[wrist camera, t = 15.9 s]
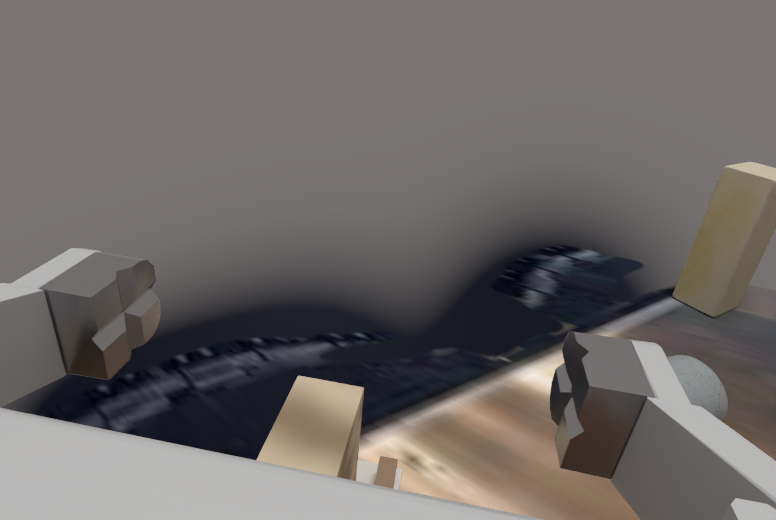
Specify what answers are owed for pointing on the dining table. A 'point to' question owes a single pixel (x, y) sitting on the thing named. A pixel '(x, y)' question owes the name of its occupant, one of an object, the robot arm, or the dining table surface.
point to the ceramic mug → (700, 385)
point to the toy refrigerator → (730, 239)
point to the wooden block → (317, 429)
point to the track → (380, 473)
